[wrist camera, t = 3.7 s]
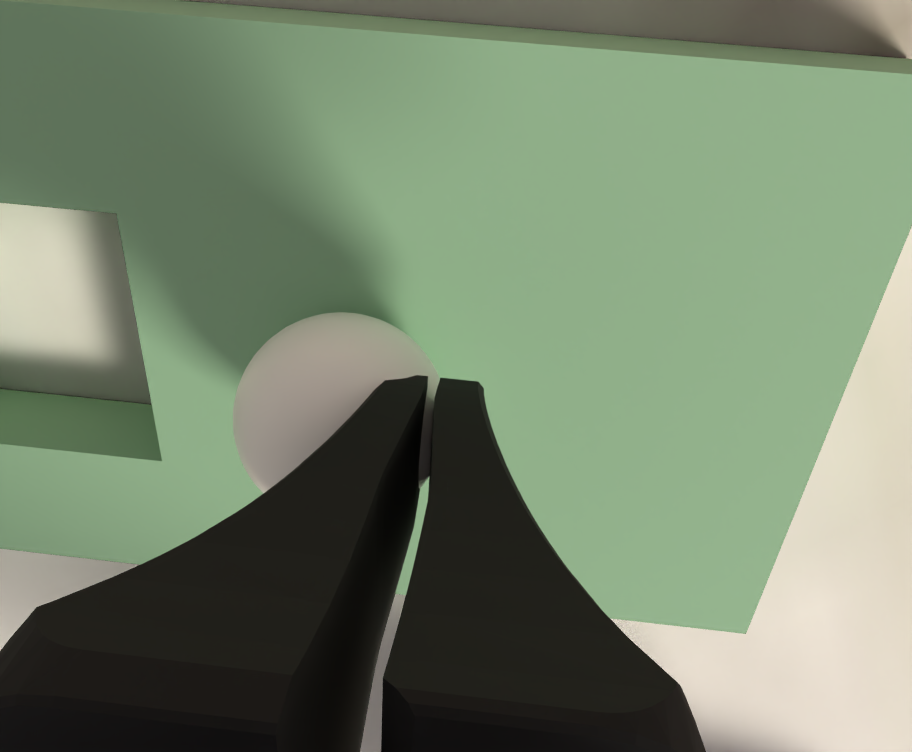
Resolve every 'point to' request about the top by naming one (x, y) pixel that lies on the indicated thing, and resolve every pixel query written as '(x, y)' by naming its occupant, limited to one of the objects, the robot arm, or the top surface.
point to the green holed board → (466, 264)
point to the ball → (320, 389)
